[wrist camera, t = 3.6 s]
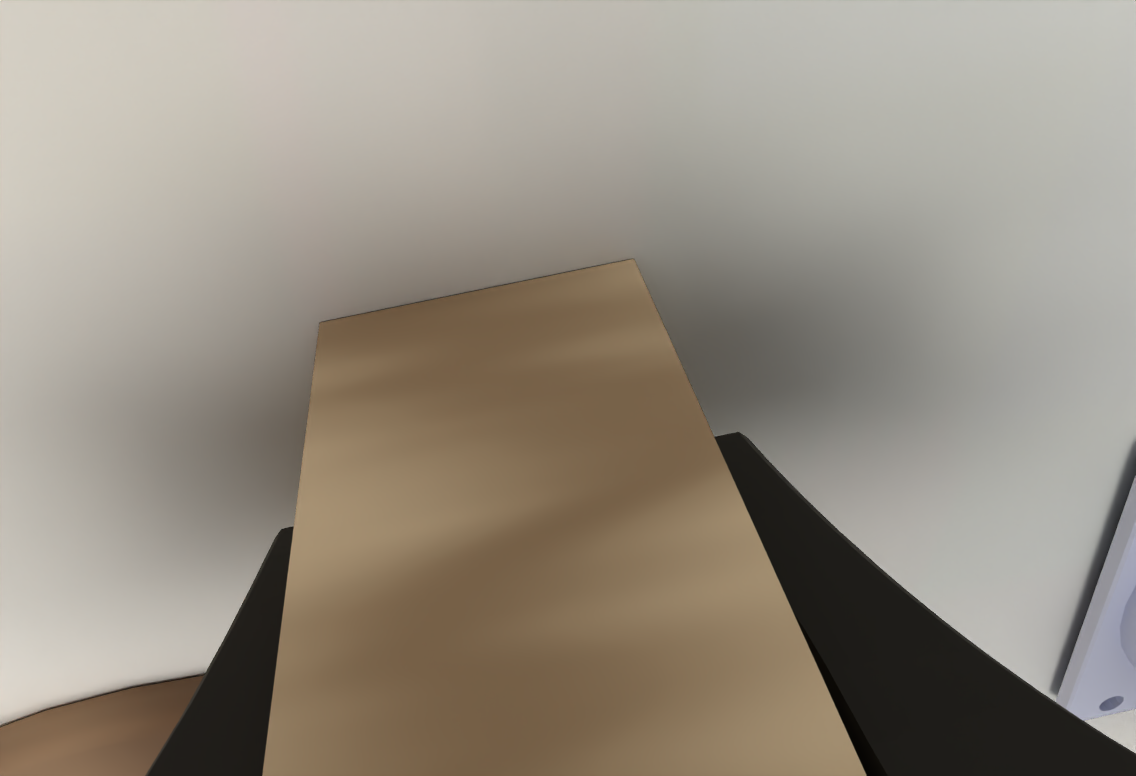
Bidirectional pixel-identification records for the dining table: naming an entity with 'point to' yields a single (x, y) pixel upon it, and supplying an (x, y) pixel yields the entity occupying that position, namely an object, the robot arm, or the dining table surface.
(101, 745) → the stool seat
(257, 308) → the dining table surface
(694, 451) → the stool leg
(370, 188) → the dining table surface
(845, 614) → the robot arm
